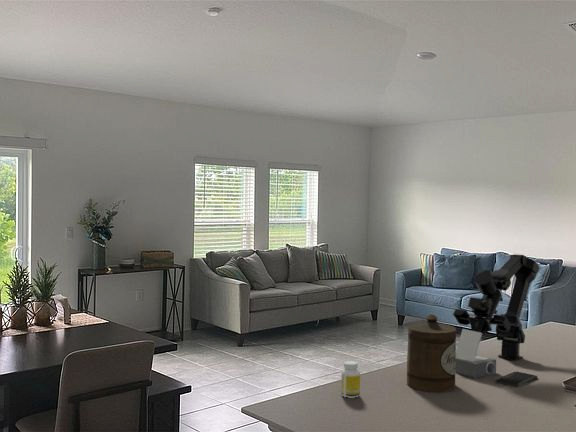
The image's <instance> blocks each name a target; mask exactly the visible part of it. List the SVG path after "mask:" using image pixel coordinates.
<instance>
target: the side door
mask: <svg viewBox="0 0 576 432" xmlns="http://www.w3.org/2000/svg"><path fill="white" fill-rule="evenodd" d="M482 336H483V335H482V333H480V332H475V331H471V329H470V330H469V329H466V328H462V330H461V333H460V337H459V340H458V344H457V346H456V347H457V348H456V359H458V360H462V361H465V362H469V363H473V364H474V361H475V358H476V355H478V354H477V353H478V350H479V346H480V343H481V339H482Z"/></svg>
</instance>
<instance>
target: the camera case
mask: <svg viewBox="0 0 576 432" xmlns="http://www.w3.org/2000/svg"><path fill="white" fill-rule="evenodd" d="M496 373H497V359H496V358H492V357H488V356H485V355H480V354H476V358H475V361H474V364H473V363H469V362H465V361H462V360H458V359H456V373H455V374H460V375H464V376H466V377H469V378H473V379H478V378H481V377H485V376H488V375H494V374H496Z"/></svg>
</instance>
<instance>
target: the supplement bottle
mask: <svg viewBox="0 0 576 432" xmlns="http://www.w3.org/2000/svg"><path fill="white" fill-rule="evenodd" d="M358 367H359V363H358V362H357V361H355V360H354V361H353V360H352V361H351V360H347V361H345V362H344V363H343V368H344V369H342V371H341V383H340V384H341V386H340V388H341V390H340V391H341V396H342V397H343V396H344V397H343V398H346V397H348V398H347V399H356V398H355V397H357V398H359V397H360V396H361V394H360V393H361V391H360V390H361V371H360V370H359V368H358ZM359 395H360V396H359ZM358 396H359V397H358Z"/></svg>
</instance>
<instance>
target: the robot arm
mask: <svg viewBox="0 0 576 432" xmlns="http://www.w3.org/2000/svg"><path fill="white" fill-rule="evenodd" d="M539 269H540V266H539V264H538V262H537V261H536V260H534V259H531V258H529V257H527V256H526V255H524V254H517V253H513V254H511V255H510V257H509V259H508V260H507V261H505V263H504V264H503V265H502V266H501V267H500V268H499V269H495V270H493V271H490V270H489V269H484V270H483V271H482V272H479V273H478V274H476V275H475V276H474V282H475V284H476V286H477V288H478V291H479V292H480V293H481V294H482V297H481V298H479V297H472V296H471V297H469V300H468V305H467V307H468V308H471V312H472V313H469V312H468V311H467V310H468V309H461V308H455V310H454V311H453V313H452V316H453V317H454V319H455V320H456V321H457V324H459V325H462V326H463V325H464V326H468V325H470V330H471V331H475V332H480V333H482V336H483V335H485V334H486V333H488V332H492V330H493V328H492V327H493V326H494V325H496V326H495V334H496V340H497V341H501V353H500V354H498V355H497V357H498V358H501V359H502V358H503V359H507V360H510V361H515V360H520V359H521V360H522V359H523V358H524V356H522V355H520V344H524V343H525V340H526V335H525V332H524V330H523V324H522V322H521V319H520V318H521V313H522V310H523V306H524V303H525V299H526V296H527V295H526V294H527V291H528V287H529V285H530V284H531V283H532V282H533V281H534V280H535V279H536V277H537V274H538V273H539V271H540V270H539ZM514 276H515V281H514V285H513V289H512V291H511V295H510V299H509V303H508V306H507V308H506V313H504V314H503V313H501V314H497V313H498V311H497V309H498V305H499V303H500V302H503V300H504V298H503V294H502V293H501V291H503V292H505V291H508V290H509V288H510V286H511V285H512V284H511V283H512V281H511V279H512V278H513V277H514Z"/></svg>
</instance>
